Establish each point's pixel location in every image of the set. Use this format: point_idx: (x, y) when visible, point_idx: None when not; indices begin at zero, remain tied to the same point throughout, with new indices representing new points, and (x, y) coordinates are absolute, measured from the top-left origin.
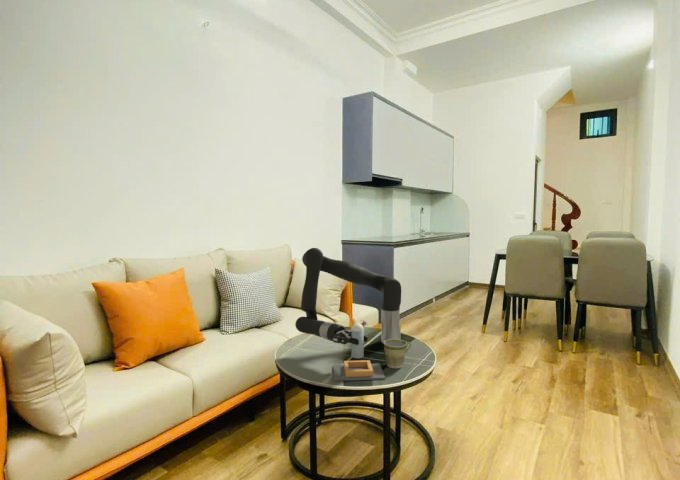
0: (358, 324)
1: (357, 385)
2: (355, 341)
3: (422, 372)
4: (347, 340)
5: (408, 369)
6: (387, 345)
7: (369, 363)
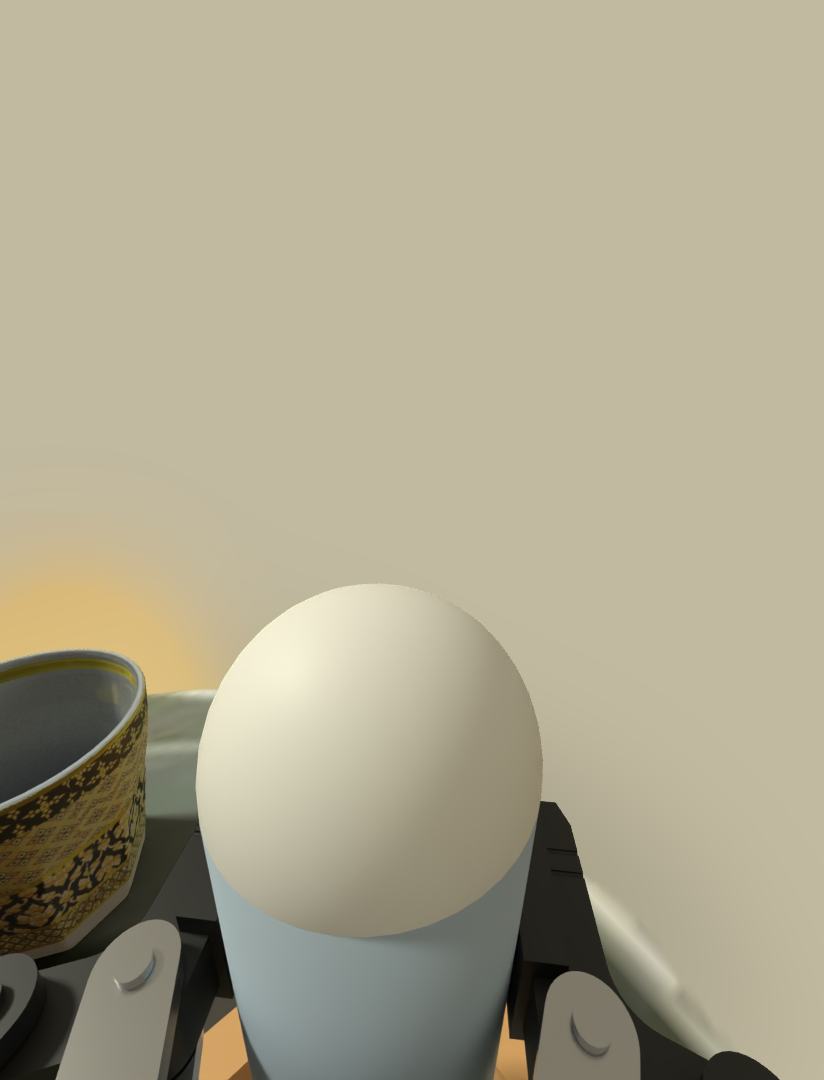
0: (406, 589)
1: (605, 950)
2: (557, 816)
3: (185, 701)
4: (666, 1061)
5: (148, 769)
6: (106, 742)
7: (239, 1027)
